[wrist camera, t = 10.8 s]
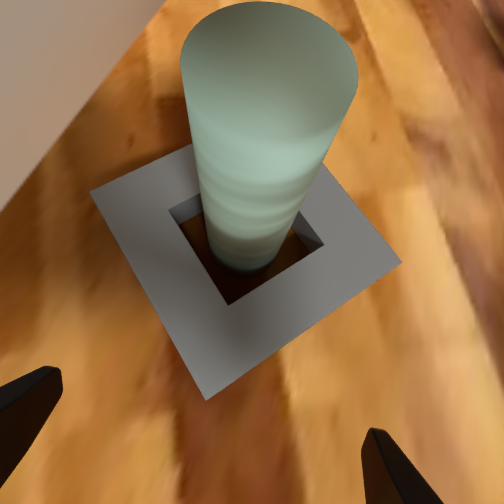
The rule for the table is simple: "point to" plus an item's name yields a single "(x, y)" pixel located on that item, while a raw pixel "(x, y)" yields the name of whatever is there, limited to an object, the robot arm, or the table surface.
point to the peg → (261, 121)
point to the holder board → (255, 302)
